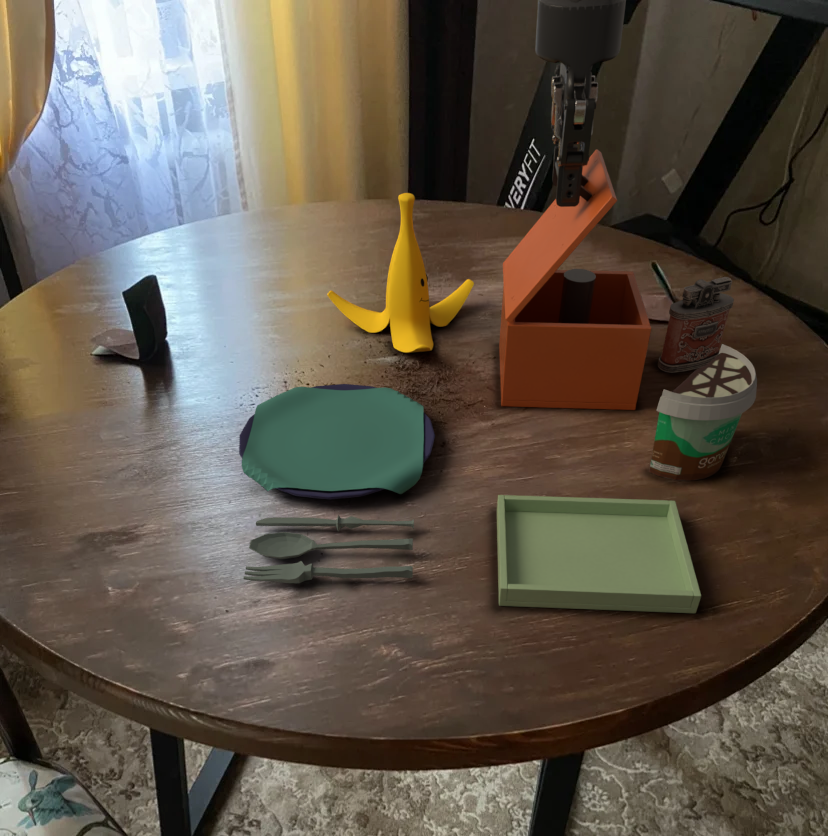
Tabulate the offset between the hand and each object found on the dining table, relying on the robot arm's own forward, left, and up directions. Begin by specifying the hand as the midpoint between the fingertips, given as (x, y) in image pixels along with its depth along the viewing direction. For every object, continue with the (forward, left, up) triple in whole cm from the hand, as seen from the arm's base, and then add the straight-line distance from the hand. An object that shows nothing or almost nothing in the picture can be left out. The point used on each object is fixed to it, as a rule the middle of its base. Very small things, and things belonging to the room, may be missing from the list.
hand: (565, 194), depth 83 cm
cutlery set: (+22, +21, -21) cm, 37 cm away
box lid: (0, 0, -4) cm, 4 cm away
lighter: (-17, -4, -21) cm, 27 cm away
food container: (-15, +16, -21) cm, 30 cm away
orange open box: (-2, 0, -21) cm, 21 cm away
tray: (-2, +31, -21) cm, 37 cm away
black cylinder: (-3, -1, -20) cm, 20 cm away
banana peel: (+19, -11, -21) cm, 30 cm away
